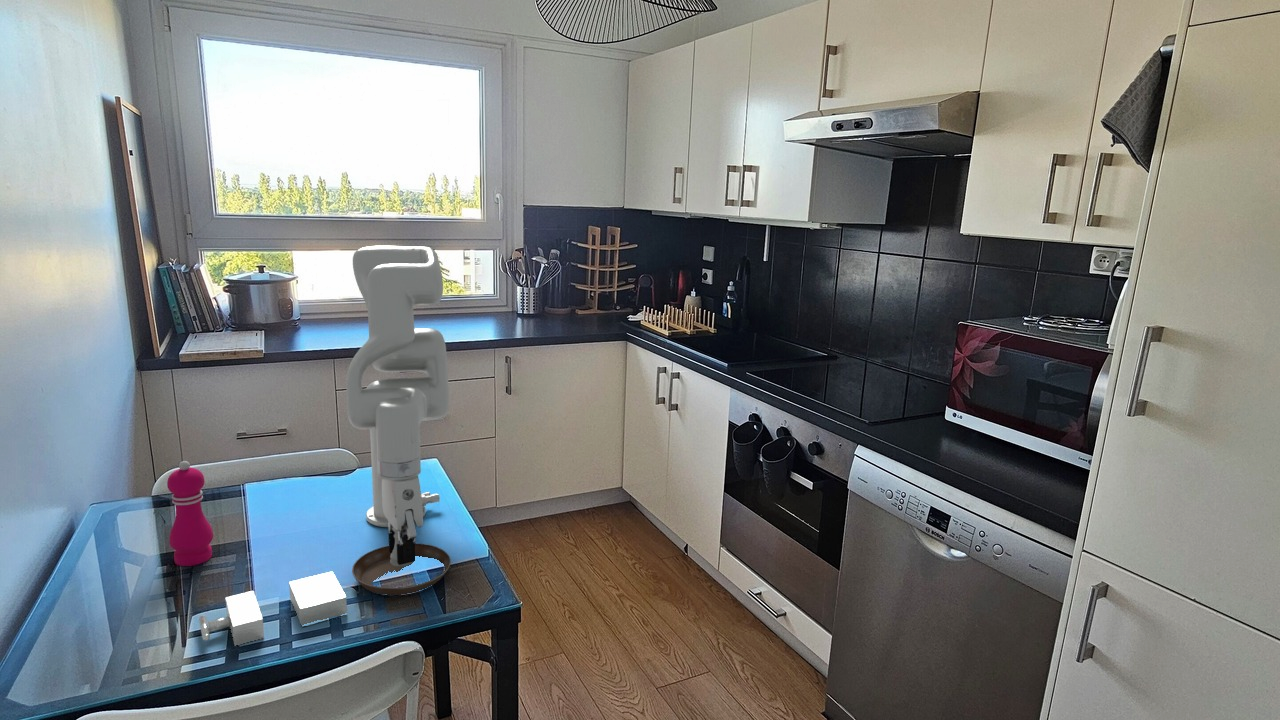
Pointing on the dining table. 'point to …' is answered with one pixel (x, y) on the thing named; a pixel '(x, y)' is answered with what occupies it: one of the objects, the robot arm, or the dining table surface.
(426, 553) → the plant saucer
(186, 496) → the pepper mill
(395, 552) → the rook chess piece
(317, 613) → the bench vise
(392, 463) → the robot arm
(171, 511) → the dining table surface
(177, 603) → the dining table surface
